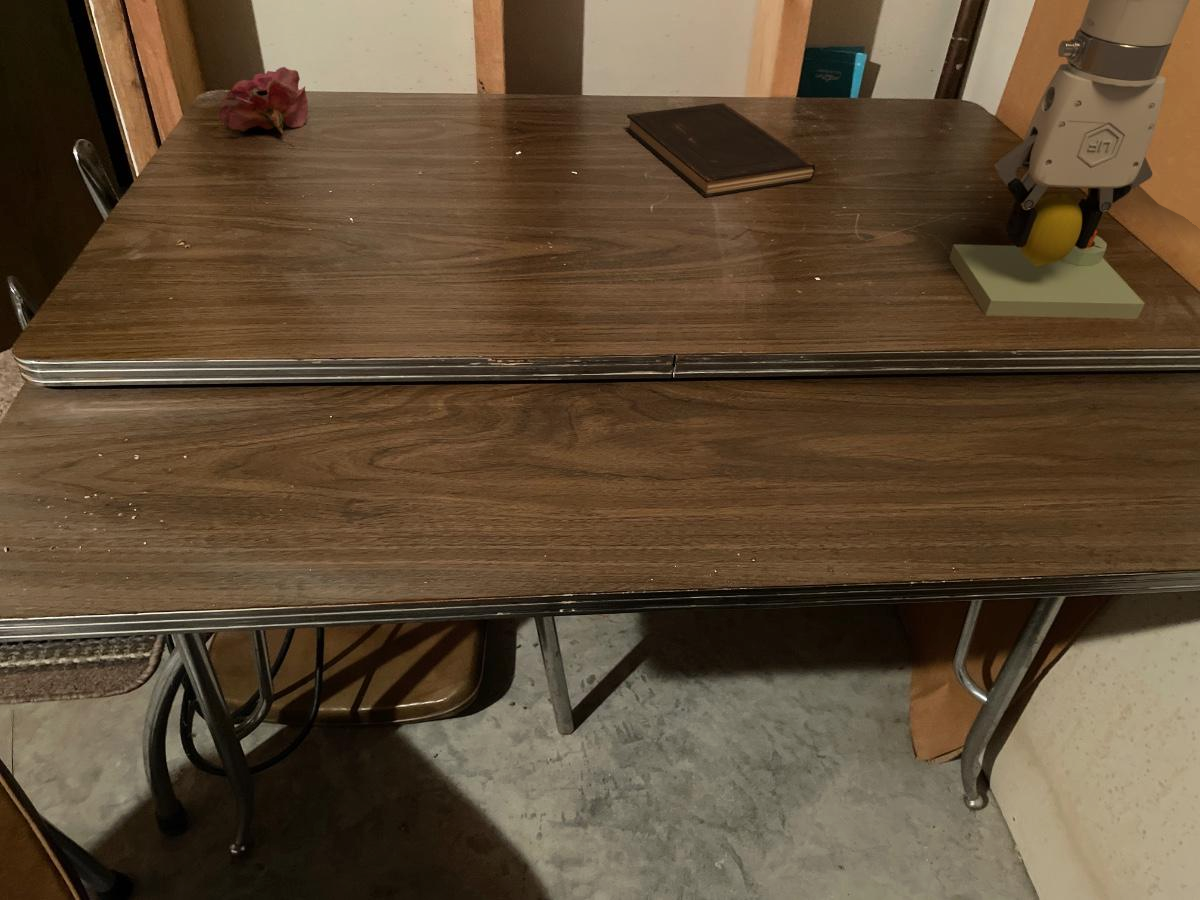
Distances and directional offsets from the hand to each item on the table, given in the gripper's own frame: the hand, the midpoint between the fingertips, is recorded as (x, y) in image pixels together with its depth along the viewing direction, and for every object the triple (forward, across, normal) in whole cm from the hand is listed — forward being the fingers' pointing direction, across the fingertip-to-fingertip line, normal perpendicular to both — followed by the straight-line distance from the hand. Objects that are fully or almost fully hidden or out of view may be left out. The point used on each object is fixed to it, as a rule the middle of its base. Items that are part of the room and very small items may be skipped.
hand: (1046, 240), depth 93 cm
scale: (+7, +2, +2) cm, 7 cm away
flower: (+7, -89, +39) cm, 97 cm away
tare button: (+4, +7, +7) cm, 10 cm away
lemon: (+3, 0, 0) cm, 3 cm away
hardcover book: (+7, -29, +36) cm, 46 cm away
